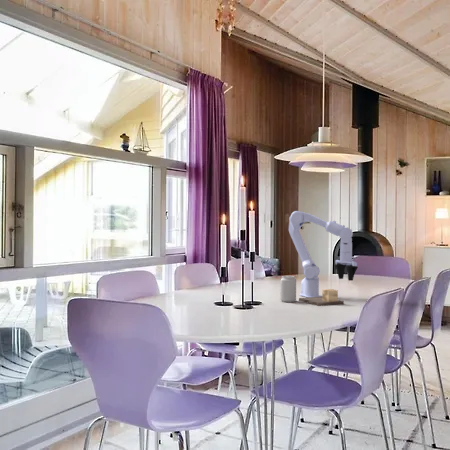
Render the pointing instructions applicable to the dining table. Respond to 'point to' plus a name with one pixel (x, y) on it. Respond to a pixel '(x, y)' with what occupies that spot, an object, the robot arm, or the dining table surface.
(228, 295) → the dining table surface
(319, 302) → the serving board
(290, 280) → the can
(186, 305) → the dining table surface
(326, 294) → the oak block
